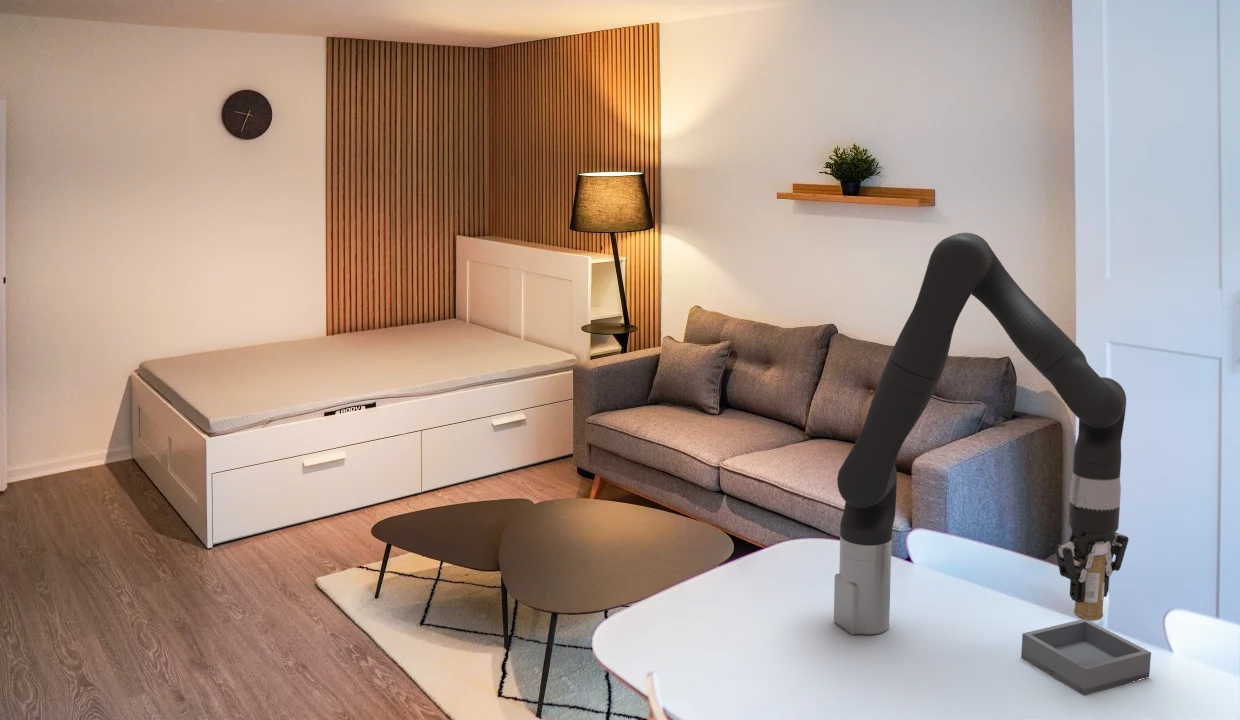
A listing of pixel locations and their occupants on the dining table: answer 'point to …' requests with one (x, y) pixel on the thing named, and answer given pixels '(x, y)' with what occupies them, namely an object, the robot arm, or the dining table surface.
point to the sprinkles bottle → (1093, 586)
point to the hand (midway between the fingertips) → (1088, 597)
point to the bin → (1085, 656)
